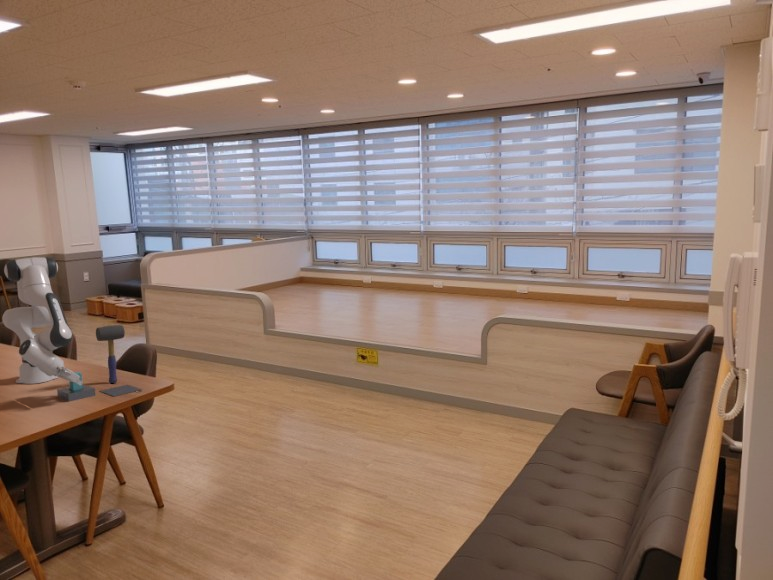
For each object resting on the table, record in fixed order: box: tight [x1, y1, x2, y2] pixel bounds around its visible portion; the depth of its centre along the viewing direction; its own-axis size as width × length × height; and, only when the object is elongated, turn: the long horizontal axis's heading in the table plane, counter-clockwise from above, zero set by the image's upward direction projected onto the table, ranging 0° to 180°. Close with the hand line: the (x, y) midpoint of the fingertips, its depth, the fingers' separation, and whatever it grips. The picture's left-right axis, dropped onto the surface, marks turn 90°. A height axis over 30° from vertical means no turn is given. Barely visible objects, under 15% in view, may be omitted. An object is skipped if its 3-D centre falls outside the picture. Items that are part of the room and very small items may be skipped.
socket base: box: [56, 383, 96, 402], centre depth 271 cm, size 12×12×4 cm
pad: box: [99, 384, 143, 398], centre depth 280 cm, size 14×14×1 cm
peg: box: [68, 371, 83, 391], centre depth 271 cm, size 4×4×11 cm
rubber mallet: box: [95, 324, 125, 384], centre depth 293 cm, size 12×8×30 cm, turn 131°
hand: (76, 382), depth 271 cm, fingers open, 8 cm apart
